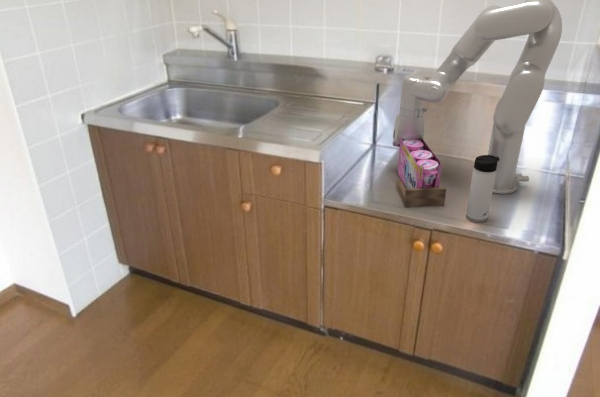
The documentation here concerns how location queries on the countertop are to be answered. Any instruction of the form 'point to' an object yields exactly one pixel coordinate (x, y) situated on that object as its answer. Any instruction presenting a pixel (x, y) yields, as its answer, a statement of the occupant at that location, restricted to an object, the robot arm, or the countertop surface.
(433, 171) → the gum box
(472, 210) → the travel mug
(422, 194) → the brown wooden open box
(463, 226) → the countertop surface
